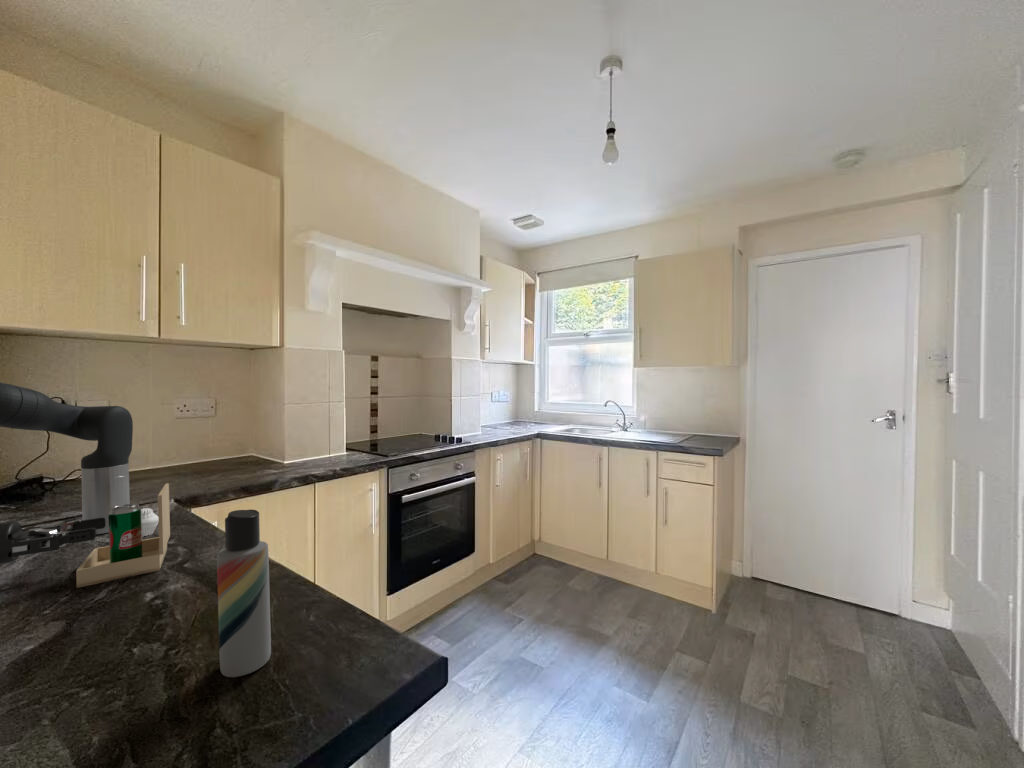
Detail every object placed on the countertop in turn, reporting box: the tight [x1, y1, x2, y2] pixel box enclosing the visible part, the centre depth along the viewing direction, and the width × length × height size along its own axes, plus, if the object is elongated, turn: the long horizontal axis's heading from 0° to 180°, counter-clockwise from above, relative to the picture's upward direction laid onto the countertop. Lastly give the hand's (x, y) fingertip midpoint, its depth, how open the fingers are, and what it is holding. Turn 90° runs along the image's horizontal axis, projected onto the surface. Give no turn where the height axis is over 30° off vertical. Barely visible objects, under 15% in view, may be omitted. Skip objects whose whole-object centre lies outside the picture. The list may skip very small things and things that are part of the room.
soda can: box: [108, 503, 143, 563], centre depth 88 cm, size 5×5×12 cm
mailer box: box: [75, 483, 171, 589], centre depth 88 cm, size 14×13×15 cm
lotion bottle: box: [216, 509, 272, 678], centre depth 55 cm, size 6×6×20 cm
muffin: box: [141, 507, 159, 538], centre depth 107 cm, size 6×6×7 cm
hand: (100, 527), depth 86 cm, fingers open, 8 cm apart
